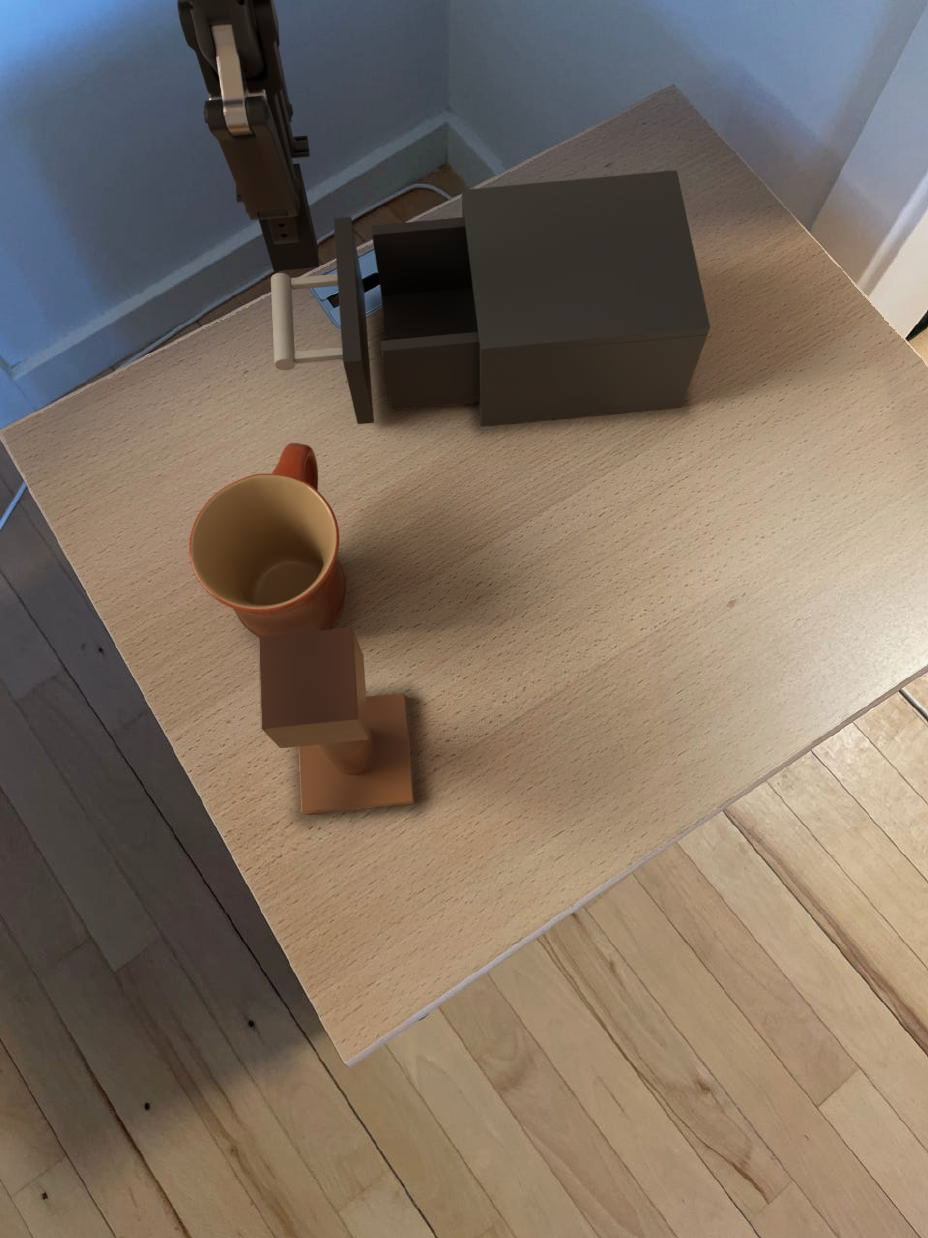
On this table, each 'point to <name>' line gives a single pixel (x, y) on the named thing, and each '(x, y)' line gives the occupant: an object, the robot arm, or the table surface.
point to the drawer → (397, 316)
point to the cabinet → (583, 297)
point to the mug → (272, 549)
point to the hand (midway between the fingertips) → (295, 258)
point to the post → (361, 764)
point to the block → (312, 688)
